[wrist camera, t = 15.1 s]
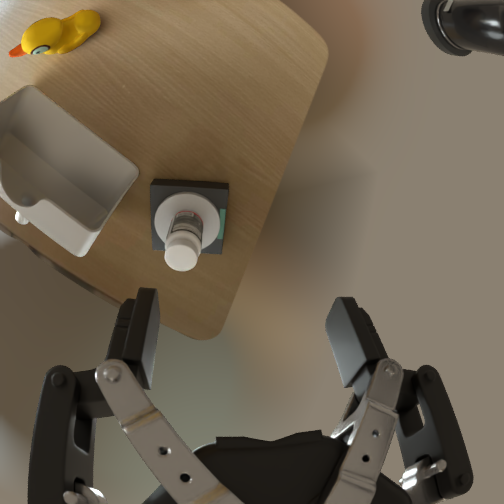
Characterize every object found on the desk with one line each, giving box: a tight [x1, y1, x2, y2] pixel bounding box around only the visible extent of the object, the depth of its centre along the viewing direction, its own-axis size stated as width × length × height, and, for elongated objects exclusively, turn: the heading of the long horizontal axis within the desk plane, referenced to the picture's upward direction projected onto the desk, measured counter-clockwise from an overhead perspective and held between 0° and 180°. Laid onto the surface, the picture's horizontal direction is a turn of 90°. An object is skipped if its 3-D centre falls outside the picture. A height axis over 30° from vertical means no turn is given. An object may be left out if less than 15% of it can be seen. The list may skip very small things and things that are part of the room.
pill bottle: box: [165, 210, 203, 271], centre depth 37 cm, size 5×5×8 cm
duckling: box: [9, 10, 101, 57], centre depth 20 cm, size 11×5×10 cm, turn 97°
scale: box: [150, 179, 229, 254], centre depth 41 cm, size 11×11×3 cm
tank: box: [0, 85, 139, 257], centre depth 30 cm, size 25×16×12 cm, turn 44°
